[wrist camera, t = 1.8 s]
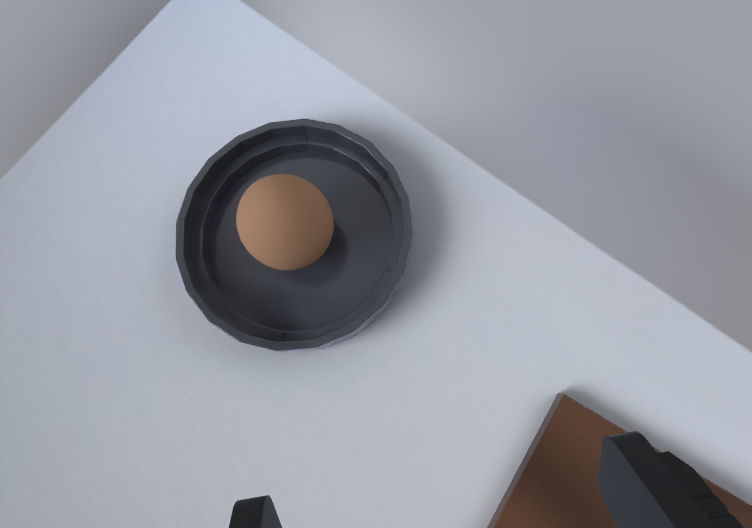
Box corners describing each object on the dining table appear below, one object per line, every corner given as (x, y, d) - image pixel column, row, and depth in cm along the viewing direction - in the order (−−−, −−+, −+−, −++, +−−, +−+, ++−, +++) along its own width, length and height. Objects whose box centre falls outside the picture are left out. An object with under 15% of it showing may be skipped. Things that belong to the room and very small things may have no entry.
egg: (341, 276, 34) (320, 251, 26) (258, 280, 34) (212, 256, 26) (340, 196, 35) (319, 148, 27) (259, 201, 36) (216, 155, 28)
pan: (273, 104, 38) (261, 83, 35) (451, 201, 35) (455, 186, 32) (152, 276, 35) (129, 269, 33) (333, 395, 33) (326, 399, 30)
